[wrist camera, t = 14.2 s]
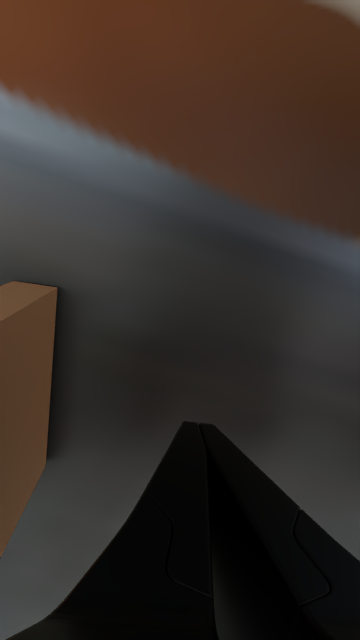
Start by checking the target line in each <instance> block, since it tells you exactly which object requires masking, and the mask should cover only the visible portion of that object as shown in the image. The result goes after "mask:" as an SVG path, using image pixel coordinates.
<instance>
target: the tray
mask: <svg viewBox="0 0 360 640" xmlns="http://www.w3.org/2000/svg"><path fill="white" fill-rule="evenodd" d="M56 303H57V287H50V286H44V285H37V284H30V283H24V282H17V281H12V282H9V283H7V284H4V285H2V286H0V558H1V556H2V554H3V552H4V550H5V548H6V545H7V543H8V541H9V539H10V537H11V535H12V533H13V531H14V529H15V527H16V525H17V523H18V521H19V519H20V517H21V515H22V513H23V511H24V509H25V507H26V505H27V503H28V501H29V499H30V497H31V495H32V493H33V491H34V489H35V486H36V484H37V482H38V480H39V478H40V476H41V474H42V472H43V470H44V468H45V466H46V453H47V438H48V423H49V408H50V393H51V378H52V363H53V348H54V333H55V318H56Z"/></svg>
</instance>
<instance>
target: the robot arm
mask: <svg viewBox="0 0 360 640" xmlns="http://www.w3.org/2000/svg"><path fill="white" fill-rule="evenodd" d="M6 640H360V561H359V560H358V559H356V558H355V557H354V556H353V555H352V554H351V553H349V552H348V551H347V550H346V549H345V548H344V547H342V546H341V545H340V544H339V543H338V542H337V541H335V540H334V539H333V538H332V537H331V536H330V535H329V534H328V533H327V532H326V531H325V530H323V529H322V528H321V527H320V526H319V525H318V524H317V523H316V522H315V521H314V520H313V519H312V518H311V517H310V516H308V515H307V514H306V513H305V512H304V511H303V510H302V509H300V507H299V506H298V505H297V504H296V503H295V502H294V501H293V500H292V499H291V498H290V497H289V496H287V495H286V494H285V493H284V492H283V491H282V490H281V489H280V488H279V487H278V486H277V485H276V484H275V483H274V482H273V481H272V480H271V479H270V478H269V477H268V476H267V475H266V474H265V473H264V472H262V471H261V470H260V469H259V468H258V467H257V466H256V465H255V464H254V463H253V462H252V461H251V460H250V459H249V458H248V457H247V456H246V455H245V454H244V453H243V452H242V451H241V450H240V449H239V448H237V447H236V446H235V445H234V444H233V443H232V442H231V441H230V440H229V439H228V438H227V437H226V436H225V435H224V434H223V433H222V432H221V431H220V430H219V429H218V428H217V427H216V426H214V425H212V424H203V423H200V424H199V425H198V423H195V422H187V421H184V422H183V423H182V424H181V426H180V428H179V430H178V431H177V433H176V435H175V437H174V439H173V440H172V442H171V444H170V446H169V448H168V449H167V451H166V453H165V455H164V456H163V458H162V460H161V462H160V464H159V465H158V467H157V469H156V471H155V473H154V474H153V476H152V478H151V480H150V482H149V483H148V485H147V487H146V489H145V490H144V492H143V494H142V495H141V497H140V499H139V501H138V503H137V504H136V506H135V508H134V509H133V511H132V512H131V514H130V516H129V517H128V519H127V521H126V522H125V523H124V525H123V526H122V527H121V529H120V530H119V532H118V533H117V534H116V536H115V537H114V538H113V540H112V541H111V542H110V544H109V545H108V546H107V547H106V549H105V550H104V551H103V552H102V554H101V555H100V556H99V557H98V559H97V560H96V561H95V562H94V564H93V565H92V566H91V567H90V569H89V570H88V571H87V572H86V574H85V575H84V576H83V577H82V579H81V580H80V581H79V582H78V584H77V585H76V586H75V587H74V589H73V590H72V591H71V592H70V594H69V595H68V596H67V597H66V598H65V600H64V601H63V602H62V603H61V604H60V605H59V606H58V607H57V608H56V609H55V610H54V611H53V612H52V613H51V614H49V615H48V616H47V617H46V618H44V619H43V620H42V621H40V622H38V623H36V624H34V625H33V626H31V627H29V628H27V629H25V630H23V631H21V632H19V633H17V634H15V635H13V636H12V637H10V638H8V639H6Z"/></svg>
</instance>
